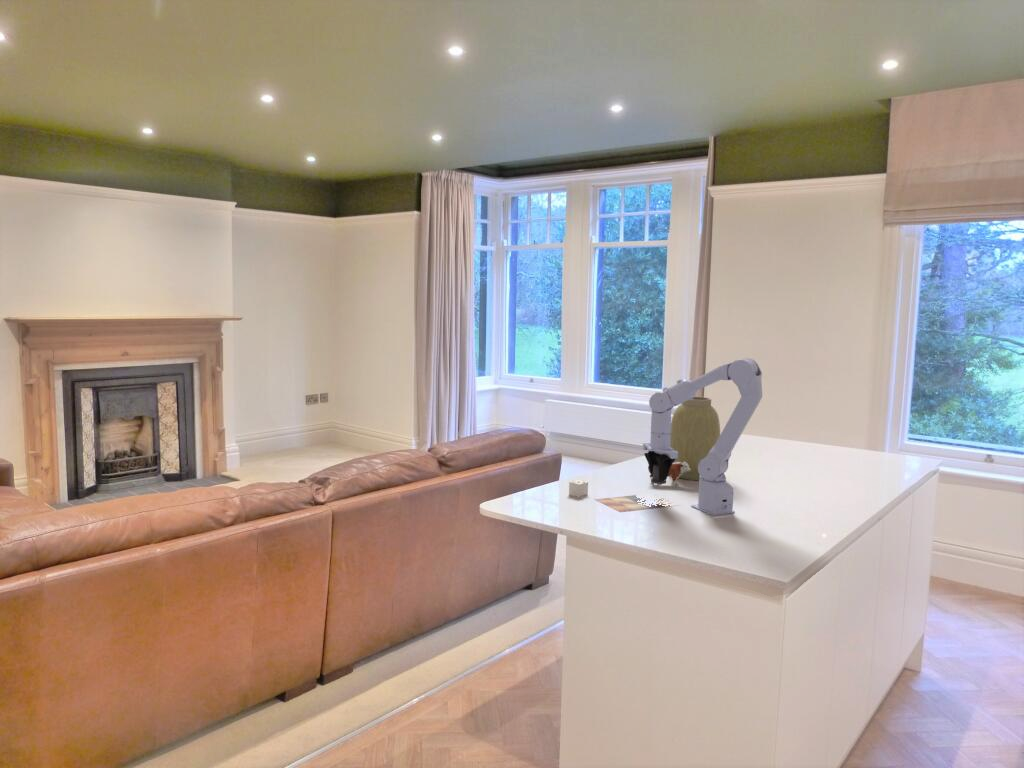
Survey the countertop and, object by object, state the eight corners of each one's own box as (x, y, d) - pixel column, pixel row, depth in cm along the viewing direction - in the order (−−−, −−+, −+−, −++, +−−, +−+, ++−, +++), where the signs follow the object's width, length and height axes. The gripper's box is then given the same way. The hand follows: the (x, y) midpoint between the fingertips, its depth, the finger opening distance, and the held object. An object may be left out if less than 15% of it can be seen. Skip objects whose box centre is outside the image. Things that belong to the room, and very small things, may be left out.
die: (587, 495, 214) (588, 482, 213) (579, 497, 211) (579, 484, 211) (577, 492, 217) (577, 479, 216) (568, 494, 214) (569, 481, 214)
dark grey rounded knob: (669, 483, 207) (670, 466, 207) (656, 484, 205) (657, 467, 205) (660, 479, 211) (661, 463, 211) (648, 481, 209) (648, 464, 209)
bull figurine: (690, 488, 225) (691, 463, 224) (647, 485, 228) (648, 460, 227) (689, 485, 229) (690, 460, 229) (647, 482, 232) (648, 457, 231)
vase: (702, 469, 253) (706, 394, 250) (728, 480, 236) (733, 401, 234) (658, 471, 248) (661, 395, 246) (682, 483, 232) (686, 401, 229)
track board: (679, 506, 204) (679, 505, 203) (620, 512, 195) (620, 511, 195) (650, 494, 216) (650, 493, 216) (594, 500, 208) (594, 499, 208)
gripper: (635, 429, 212) (633, 473, 213) (664, 437, 199) (662, 484, 200) (654, 428, 215) (652, 472, 216) (684, 436, 201) (682, 482, 203)
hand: (658, 478), depth 208 cm, fingers closed on dark grey rounded knob, 4 cm apart
